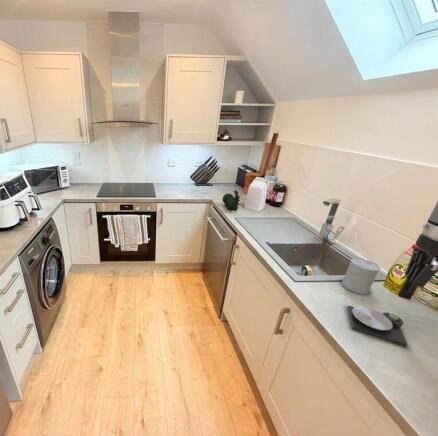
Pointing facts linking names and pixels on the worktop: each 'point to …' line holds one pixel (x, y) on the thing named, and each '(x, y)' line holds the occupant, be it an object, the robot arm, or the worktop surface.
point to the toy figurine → (231, 201)
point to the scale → (389, 335)
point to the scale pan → (372, 318)
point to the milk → (256, 195)
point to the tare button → (393, 317)
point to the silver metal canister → (360, 275)
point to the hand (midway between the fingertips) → (403, 296)
